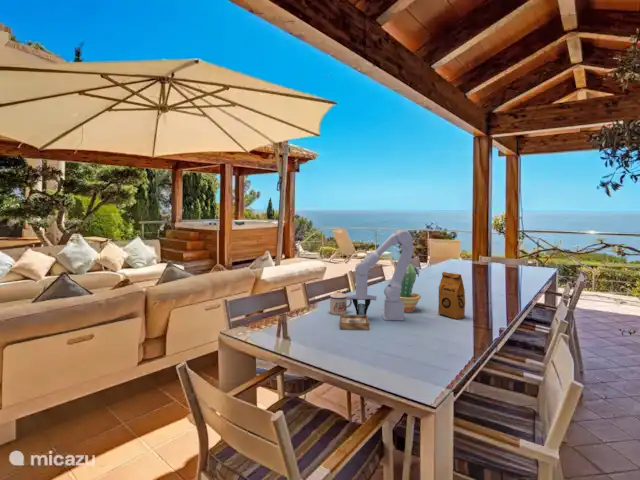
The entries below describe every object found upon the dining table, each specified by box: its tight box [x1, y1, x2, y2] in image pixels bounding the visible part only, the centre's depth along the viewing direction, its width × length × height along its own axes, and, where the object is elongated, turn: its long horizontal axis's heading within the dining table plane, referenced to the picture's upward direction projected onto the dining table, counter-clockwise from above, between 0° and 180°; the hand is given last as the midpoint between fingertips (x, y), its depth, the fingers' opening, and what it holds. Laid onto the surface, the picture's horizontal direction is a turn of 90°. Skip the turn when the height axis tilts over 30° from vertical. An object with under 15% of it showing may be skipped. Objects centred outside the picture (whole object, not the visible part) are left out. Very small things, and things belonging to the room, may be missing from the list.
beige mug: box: [329, 290, 353, 316], centre depth 193 cm, size 12×9×12 cm
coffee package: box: [437, 271, 466, 320], centre depth 186 cm, size 10×12×22 cm
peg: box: [358, 302, 365, 315], centre depth 182 cm, size 3×3×7 cm
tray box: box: [339, 314, 370, 331], centre depth 171 cm, size 13×13×3 cm
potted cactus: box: [399, 263, 422, 313], centre depth 198 cm, size 15×15×25 cm
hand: (361, 314), depth 183 cm, fingers closed on peg, 3 cm apart
